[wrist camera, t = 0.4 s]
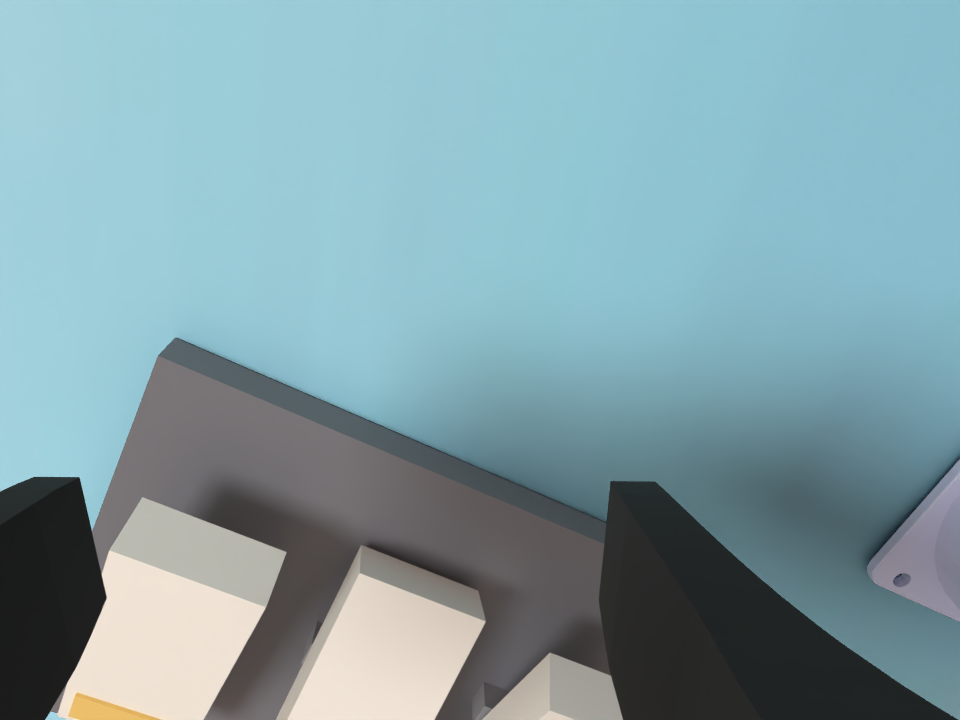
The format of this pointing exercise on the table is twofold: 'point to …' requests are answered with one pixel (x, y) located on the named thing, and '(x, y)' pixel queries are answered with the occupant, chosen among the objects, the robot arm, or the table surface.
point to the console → (353, 526)
